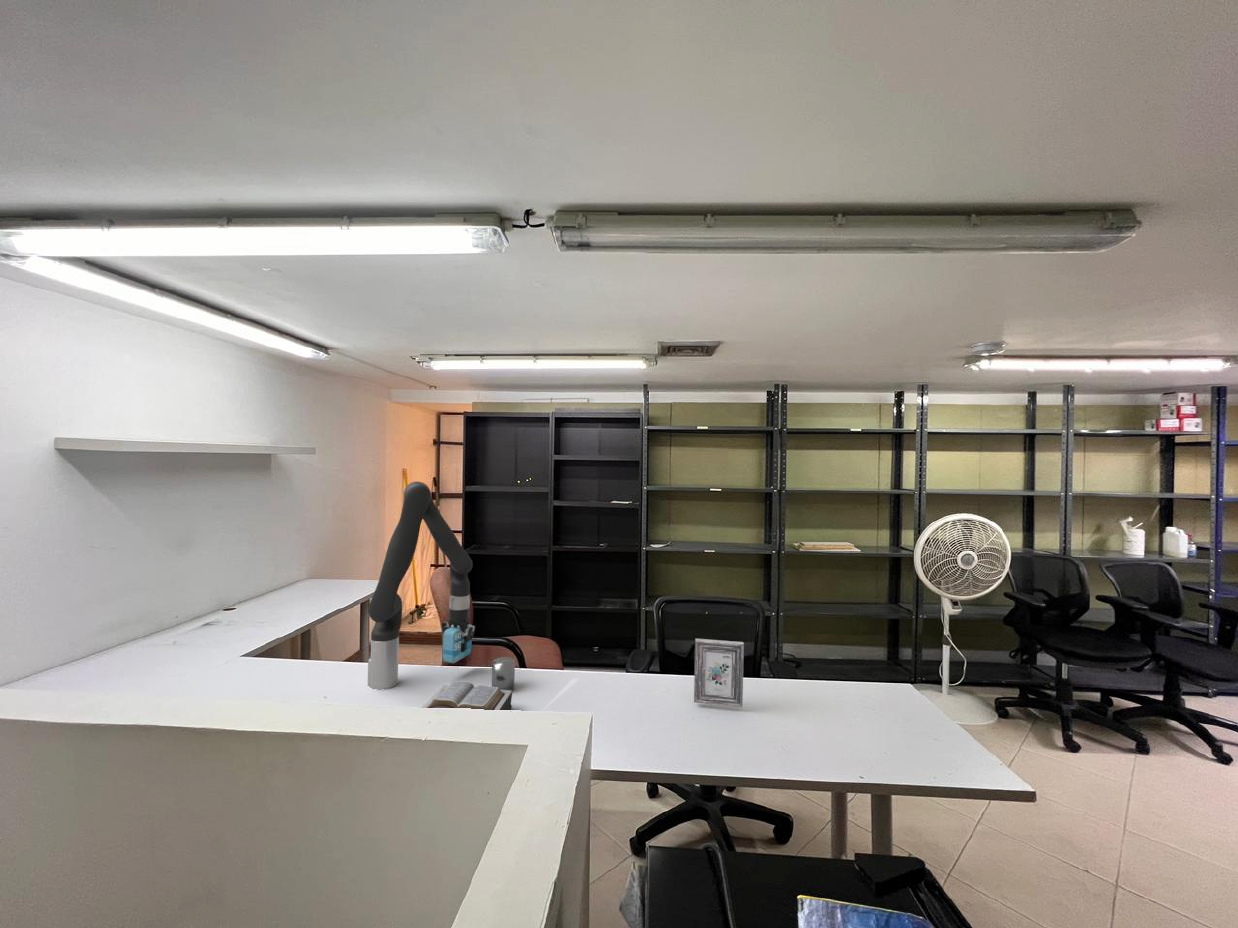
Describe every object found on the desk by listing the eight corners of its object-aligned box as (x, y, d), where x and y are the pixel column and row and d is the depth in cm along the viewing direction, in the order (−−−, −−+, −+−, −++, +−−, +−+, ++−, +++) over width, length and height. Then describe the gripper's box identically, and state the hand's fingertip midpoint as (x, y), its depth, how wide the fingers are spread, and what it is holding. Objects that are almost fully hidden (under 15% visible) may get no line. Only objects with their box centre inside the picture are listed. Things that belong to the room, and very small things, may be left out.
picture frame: (693, 702, 170) (695, 640, 170) (693, 699, 172) (695, 638, 172) (742, 707, 167) (744, 644, 167) (742, 704, 170) (743, 641, 170)
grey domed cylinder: (487, 691, 174) (487, 663, 174) (499, 682, 182) (499, 655, 182) (507, 695, 172) (507, 666, 172) (518, 685, 180) (518, 658, 180)
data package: (452, 664, 181) (453, 632, 181) (441, 662, 183) (443, 630, 183) (471, 653, 193) (472, 622, 193) (461, 651, 194) (463, 621, 194)
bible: (452, 698, 170) (452, 669, 170) (522, 711, 162) (522, 681, 162) (404, 732, 147) (405, 700, 147) (483, 749, 140) (484, 715, 140)
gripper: (437, 606, 186) (435, 651, 186) (470, 611, 182) (467, 657, 182) (449, 601, 193) (447, 644, 193) (481, 606, 189) (479, 650, 189)
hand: (457, 650), depth 188 cm, fingers closed on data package, 4 cm apart
